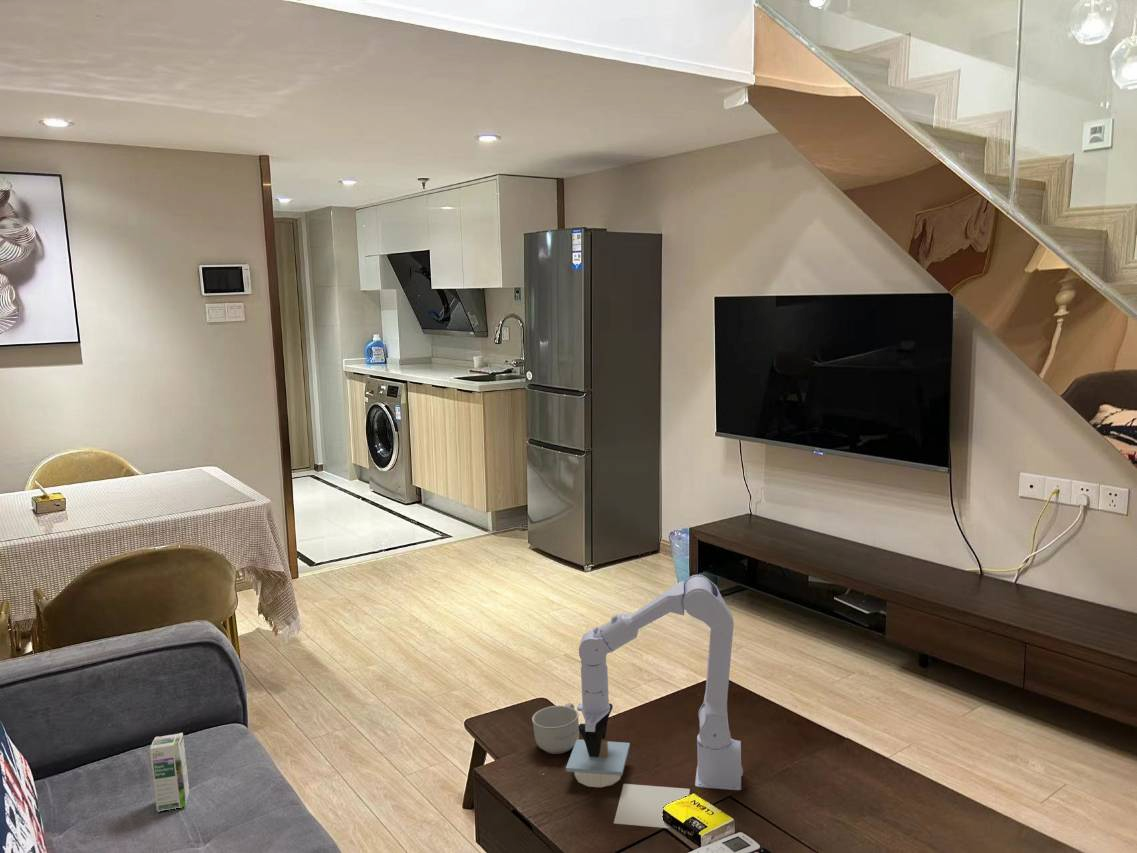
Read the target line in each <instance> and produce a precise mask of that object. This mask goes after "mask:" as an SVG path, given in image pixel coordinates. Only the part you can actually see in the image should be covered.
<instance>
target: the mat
mask: <svg viewBox="0 0 1137 853" xmlns="http://www.w3.org/2000/svg"><path fill="white" fill-rule="evenodd" d="M690 791H691V790H690V788H683V787H682V788H681V787H671V786H670V787H669V786H659V785H658V786H656V785H645V784H634V783H633V784H632V783H631V784H630V783H623V785H622V789H621V793H620V797H619V800H618V805H617V809H616V812H615V816H614V820H613V824H616V825H628V826H638V827H649V828H660V829H669V828H668V827H667V826H666V825H665V824H664V821H663V817H662V816H663V813H662V812H663V807H664V806H665V805H666V804H668V803H671V802H672V801H675V800H678V799H681V798H683V797H685V796H688V795H689V796H690Z"/></svg>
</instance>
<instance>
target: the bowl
mask: <svg viewBox="0 0 1137 853" xmlns="http://www.w3.org/2000/svg"><path fill="white" fill-rule="evenodd" d="M574 777H575V779H576V781H577V782H578V783H579V784H582V785H584V786H586V787H588V788H591V787H593V788H604V787H608V786H613V785H614V784H616V783H617V782H618V781H620V780H621V777H622V776H619V775H606V774H593V773H580V772H574Z"/></svg>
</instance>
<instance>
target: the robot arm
mask: <svg viewBox="0 0 1137 853" xmlns="http://www.w3.org/2000/svg"><path fill="white" fill-rule="evenodd" d="M685 611H686V613H687V614H688V615H690V616H691V617H693V618H694V619H697V620H698V621H701V622H703V623H704V624H706V626H707V627H709V628H710V632H709V643H708V644H709V645H708V656H707V669H706V670H707V671H706V681H705V682H706V683H705V693H704V695H703V696H704V697H703V703H702V704H701V706H700V707H699V709H698V713H697V714H698V715H697V716H698V721H699V733H698V734H697V736H696V746H697V748H696V749H697V750H696V751H697V766H696V772H695V773H696V774H695V781H694V782H695V783H694V787H696V788H705V789H706V788H707V789H719V790H732V791H740V790H742V777H743V775H744V771H743V770H744V768H743V766H742V741H741V740H737V739H733V738H732V736H731V731H730V728H729V720H728V716H729V715H728V714H729V713H728V694H729V685H730V684H729V682H730V671H731V670H730V669H731V661H732V660H731V658H732V657H731V656H732V648H733V636H734V625H735V624H734V617H733V614H732V612H731V610H730V608H729V606H728V605H727V603H726V602H725V599H724V598H723V596H722V594H721V593H720V590H719V588H718V585H716V584H715V583H714V582H713V581H711V580H710V579H709V578H708V577H706V576H704V575H702V574H693V575H691V576H689V577H687V579H685V581H684V580H682V581H679V582H678V583H676V584H674V585H673V586H672V587H670V588H669V589H668V590H666V591H665V592H663V593H662V594H660V595H659V596H657V597H656V598H654V599H652V600H651V601H650V602H649V603H647V604H646V605H644V606H642V607H641V608H639V609H638V610H637V611H635V612H633V613H632V614H629V613H621V614H620V615H618V613H615V614H613V615H612V616H611V618H610V619H611V620H610V621H608V622H606V623H604V624H603V625H601V626H599V627H598V626H595V627H594V628H592V630H588V631H586V632H585V633H584V634H583V635H582V637H581V640H580V643H579V644H580V645H579V647H578V656H579V659H580V664H581V666H580V676H581V677H580V679H581V681H580V682H581V702H582V703H578V705H577V706H576V711H577V712H582V716H583V719H584V723H579V735H581V737H582V738H583V739H582V740H584V741H585V744H586V747H587V751H588V754H589V756H590V757H599V754H600V749H601V741H603V740H605V738H606V734H607V728H608V723H609V717H610V714H611V712H612V710H613V704H612V703H609V676H608V675H609V674H608V666H607V655H608V654H611V653H613V652H614V651H616V650H618V649H619V648H621V647H623V646H624V645H626V644H628V643H630V642H631V641H633V640H634V639H636V638H638V636H639V630H641V629H642V628H643V627H646V626H647V625H649V624H652V623H653V622H655V621H656V620H658V619H660V618H662V617H664V616H666V615H669V614H670V613H673V614H676V615H678V616H679V615H680V616H685Z"/></svg>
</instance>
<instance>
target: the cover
mask: <svg viewBox="0 0 1137 853" xmlns="http://www.w3.org/2000/svg"><path fill="white" fill-rule="evenodd" d="M630 744H631V743H630V742H624V741H623V742H622V741H621V742H620V741H608V740H601V749H600V754H599V757H590V756H589V754H588V751H587V747H586V744H585V741H584V739H580V738H579V739H577V740H576V743H575V745H574V746H573V747H572V751H571V753H570V757H569V758H568V761H567V764H566V766H565V772H568V773H569V772H571V773H575V772H580V773H593V774H606V775H619V776H621V777H622V776H623V773H624V771H625V766H626V762H627V758H628V756H629V752H630V751H629V750H630V747H631V746H630Z"/></svg>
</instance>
